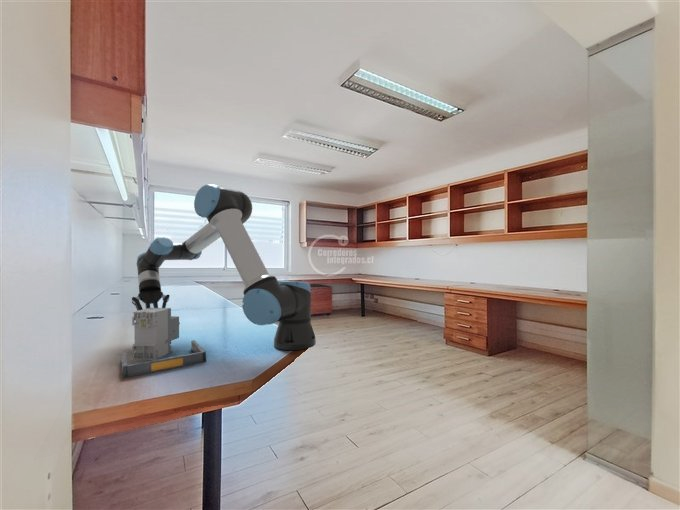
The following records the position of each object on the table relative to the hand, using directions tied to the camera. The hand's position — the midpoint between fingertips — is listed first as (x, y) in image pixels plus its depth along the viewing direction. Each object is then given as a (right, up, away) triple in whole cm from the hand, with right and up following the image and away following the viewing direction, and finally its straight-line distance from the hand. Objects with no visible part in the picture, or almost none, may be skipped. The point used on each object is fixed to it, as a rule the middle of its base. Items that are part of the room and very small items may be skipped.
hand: (154, 333), depth 113 cm
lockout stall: (+13, -4, -17) cm, 21 cm away
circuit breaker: (+6, -5, -8) cm, 11 cm away
